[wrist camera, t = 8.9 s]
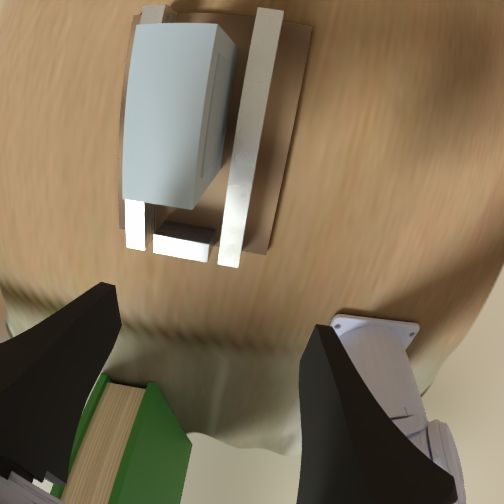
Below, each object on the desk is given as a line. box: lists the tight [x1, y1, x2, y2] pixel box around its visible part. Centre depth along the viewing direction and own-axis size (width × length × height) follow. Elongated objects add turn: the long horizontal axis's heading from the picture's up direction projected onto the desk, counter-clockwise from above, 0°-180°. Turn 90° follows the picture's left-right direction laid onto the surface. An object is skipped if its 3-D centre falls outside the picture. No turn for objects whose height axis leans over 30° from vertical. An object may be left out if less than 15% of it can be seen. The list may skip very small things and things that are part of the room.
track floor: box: [118, 13, 312, 255], centre depth 15 cm, size 14×10×1 cm
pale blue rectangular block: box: [122, 23, 239, 210], centre depth 12 cm, size 7×3×6 cm, turn 171°
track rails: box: [125, 4, 284, 268], centre depth 14 cm, size 14×7×2 cm, turn 171°
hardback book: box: [50, 373, 192, 504], centre depth 23 cm, size 18×7×24 cm, turn 4°
